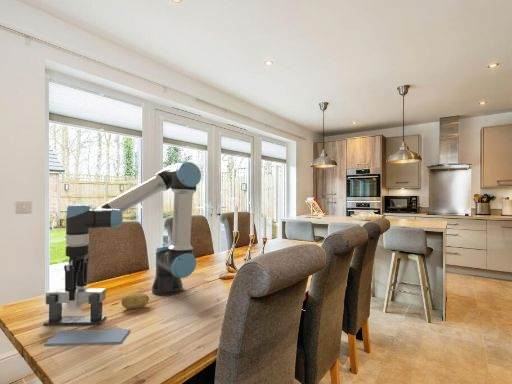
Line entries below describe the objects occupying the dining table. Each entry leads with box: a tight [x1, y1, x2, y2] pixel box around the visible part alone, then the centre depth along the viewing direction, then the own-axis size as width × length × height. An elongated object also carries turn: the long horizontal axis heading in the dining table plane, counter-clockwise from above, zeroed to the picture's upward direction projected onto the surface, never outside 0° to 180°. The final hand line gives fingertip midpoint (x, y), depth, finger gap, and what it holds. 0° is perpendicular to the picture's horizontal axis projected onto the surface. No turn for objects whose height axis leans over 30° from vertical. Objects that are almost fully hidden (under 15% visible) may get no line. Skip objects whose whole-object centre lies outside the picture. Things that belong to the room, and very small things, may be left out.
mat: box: [43, 328, 131, 346], centre depth 100 cm, size 24×9×1 cm, turn 95°
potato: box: [120, 292, 150, 310], centre depth 127 cm, size 7×11×6 cm, turn 107°
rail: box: [45, 287, 107, 304], centre depth 112 cm, size 20×4×4 cm, turn 95°
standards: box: [42, 295, 107, 327], centre depth 112 cm, size 20×7×11 cm, turn 95°
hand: (76, 305), depth 112 cm, fingers closed on rail, 4 cm apart
